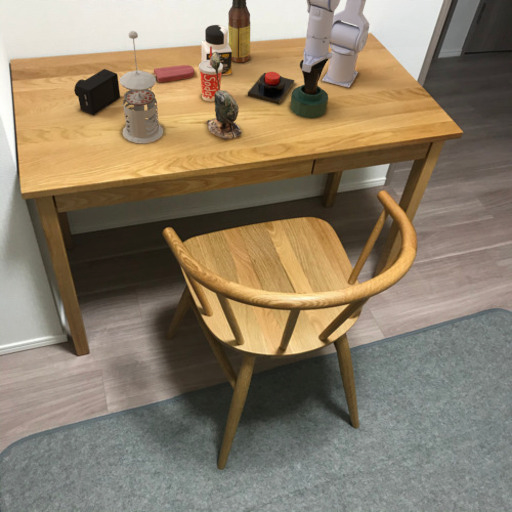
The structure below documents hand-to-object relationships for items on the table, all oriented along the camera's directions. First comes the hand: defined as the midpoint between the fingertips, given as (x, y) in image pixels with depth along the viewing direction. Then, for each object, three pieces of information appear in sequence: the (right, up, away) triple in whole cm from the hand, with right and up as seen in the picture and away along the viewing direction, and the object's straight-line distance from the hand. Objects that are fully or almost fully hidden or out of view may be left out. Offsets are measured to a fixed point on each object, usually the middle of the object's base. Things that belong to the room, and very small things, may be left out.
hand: (311, 85), depth 144 cm
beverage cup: (-26, -2, +6) cm, 27 cm away
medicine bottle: (-25, +9, +16) cm, 32 cm away
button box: (-10, +2, +10) cm, 14 cm away
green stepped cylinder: (0, -5, +5) cm, 7 cm away
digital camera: (-54, -4, +1) cm, 55 cm away
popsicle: (-39, +6, +12) cm, 41 cm away
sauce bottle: (-19, +14, +21) cm, 32 cm away
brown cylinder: (0, -2, +2) cm, 3 cm away
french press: (-42, -13, -6) cm, 44 cm away
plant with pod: (-22, -13, -5) cm, 26 cm away
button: (-10, +4, +8) cm, 13 cm away
